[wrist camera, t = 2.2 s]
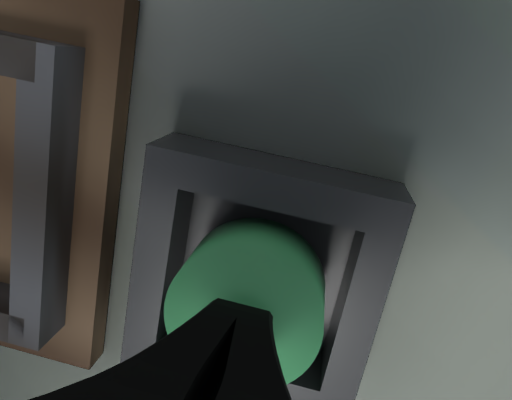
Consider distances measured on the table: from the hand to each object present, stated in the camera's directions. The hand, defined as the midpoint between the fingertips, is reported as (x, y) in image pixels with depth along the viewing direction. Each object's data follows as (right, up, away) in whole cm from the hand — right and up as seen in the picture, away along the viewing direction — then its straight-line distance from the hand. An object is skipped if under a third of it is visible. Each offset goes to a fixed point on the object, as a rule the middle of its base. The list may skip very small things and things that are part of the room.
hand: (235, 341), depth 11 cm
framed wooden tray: (-9, +4, +5) cm, 11 cm away
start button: (0, +1, +3) cm, 3 cm away
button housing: (+1, +1, +4) cm, 5 cm away
